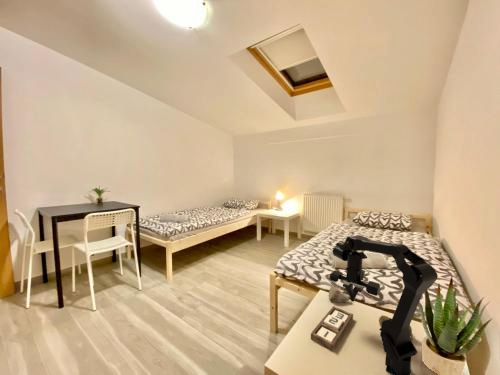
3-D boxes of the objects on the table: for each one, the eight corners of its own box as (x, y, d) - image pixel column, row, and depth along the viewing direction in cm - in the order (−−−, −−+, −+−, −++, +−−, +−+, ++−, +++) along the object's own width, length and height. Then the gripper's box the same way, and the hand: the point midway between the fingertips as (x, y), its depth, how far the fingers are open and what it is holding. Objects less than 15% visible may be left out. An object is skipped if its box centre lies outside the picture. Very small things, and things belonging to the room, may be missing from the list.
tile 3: (348, 318, 99) (348, 315, 99) (343, 325, 94) (344, 321, 94) (335, 312, 103) (335, 309, 103) (330, 319, 98) (330, 315, 98)
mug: (352, 306, 109) (343, 291, 107) (333, 310, 113) (325, 295, 111) (349, 295, 116) (342, 280, 114) (332, 299, 120) (324, 284, 118)
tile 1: (336, 337, 87) (336, 333, 87) (330, 346, 83) (330, 342, 83) (321, 330, 91) (322, 326, 91) (315, 338, 87) (315, 334, 87)
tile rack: (352, 319, 99) (353, 314, 99) (333, 351, 81) (333, 345, 81) (333, 310, 105) (333, 306, 105) (310, 339, 87) (310, 333, 87)
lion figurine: (383, 342, 86) (384, 321, 85) (374, 332, 91) (375, 312, 90) (418, 340, 87) (419, 319, 86) (407, 331, 92) (408, 310, 91)
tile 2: (342, 323, 93) (343, 320, 93) (337, 331, 89) (338, 327, 88) (329, 317, 97) (329, 314, 97) (323, 324, 93) (323, 320, 92)
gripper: (384, 266, 91) (381, 301, 92) (338, 254, 103) (337, 286, 104) (378, 275, 82) (375, 314, 83) (329, 261, 95) (328, 295, 96)
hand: (352, 301), depth 92 cm, fingers closed
